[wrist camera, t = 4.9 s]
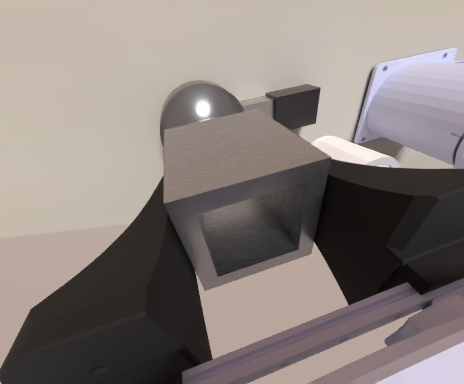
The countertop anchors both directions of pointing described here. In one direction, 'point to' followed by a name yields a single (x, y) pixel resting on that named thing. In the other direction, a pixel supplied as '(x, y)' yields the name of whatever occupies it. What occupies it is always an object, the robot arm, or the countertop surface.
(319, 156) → the socket
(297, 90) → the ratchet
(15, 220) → the countertop surface
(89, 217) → the countertop surface
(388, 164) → the shot glass
